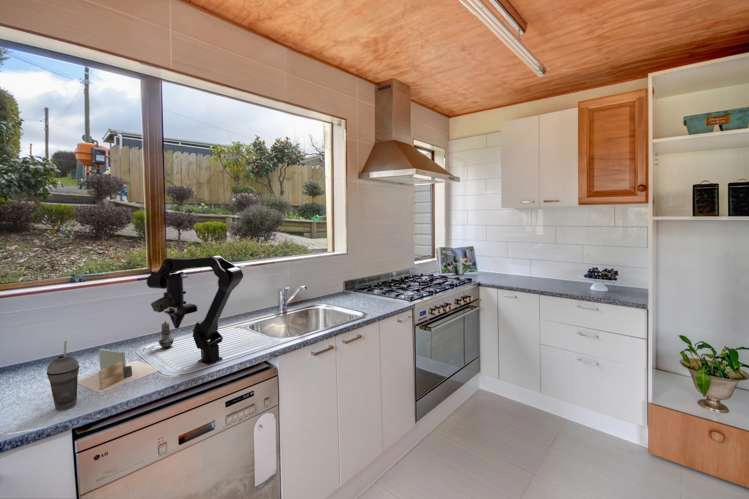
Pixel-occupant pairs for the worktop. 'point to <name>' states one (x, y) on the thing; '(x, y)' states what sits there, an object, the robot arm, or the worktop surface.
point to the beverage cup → (63, 380)
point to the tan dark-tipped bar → (113, 374)
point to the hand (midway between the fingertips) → (176, 328)
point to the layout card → (137, 372)
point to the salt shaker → (166, 337)
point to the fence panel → (111, 358)
